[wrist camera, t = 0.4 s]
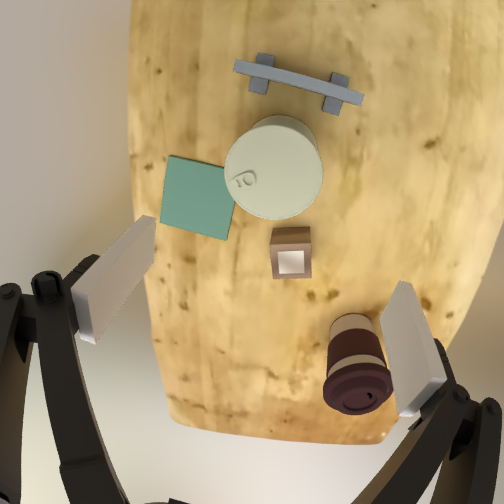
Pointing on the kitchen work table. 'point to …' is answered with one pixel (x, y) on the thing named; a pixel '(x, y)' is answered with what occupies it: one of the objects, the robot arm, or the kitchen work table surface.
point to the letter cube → (291, 253)
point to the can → (274, 168)
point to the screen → (298, 82)
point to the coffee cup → (355, 367)
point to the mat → (196, 198)
